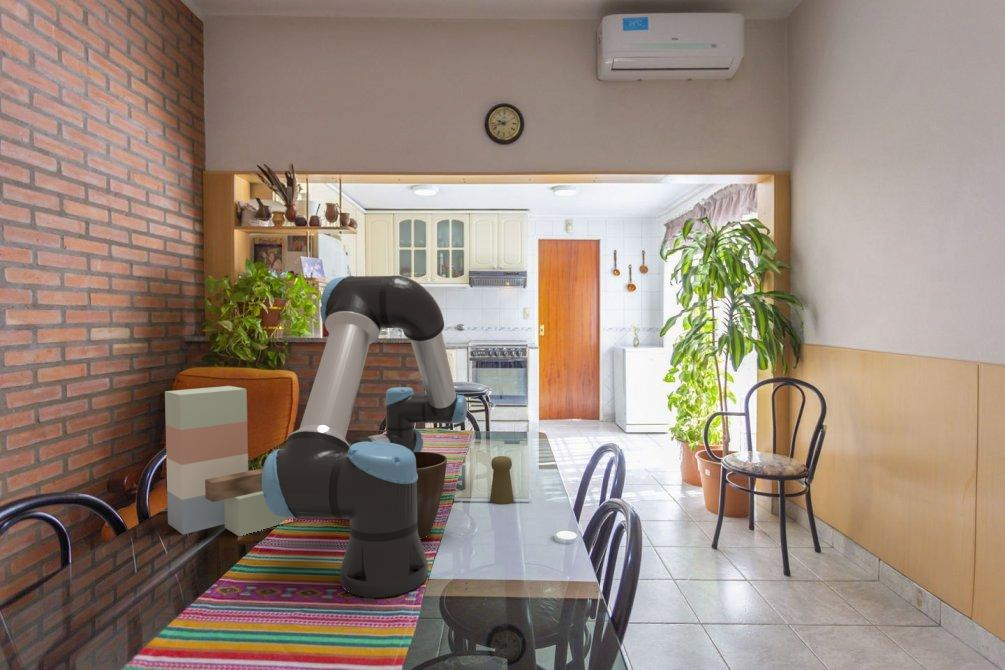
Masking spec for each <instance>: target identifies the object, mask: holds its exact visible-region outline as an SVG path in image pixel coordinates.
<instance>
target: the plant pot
mask: <svg viewBox="0 0 1005 670" xmlns="http://www.w3.org/2000/svg"><path fill="white" fill-rule="evenodd" d="M413 453H414V455H415V458H416V470H417V474H418V480H417V530H418V534H419V537H420V538H424V537H426V536H428V535H429V536H430V535H431V533H432V531H433V527H434V525H435V522H436V518H437V514H438V511H439V508H440V504H441V499H442V495H443V491H444V484H445V480H446V479H445V478H446V472H447V465H448V457H447V456H446V455H444V454H441V453H437V452H432V451H431V452H430V451H421V452H413ZM429 536H428V537H429ZM426 538H427V537H426ZM424 539H425V538H424Z"/></svg>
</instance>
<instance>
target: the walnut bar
mask: <svg viewBox="0 0 1005 670" xmlns="http://www.w3.org/2000/svg"><path fill="white" fill-rule="evenodd" d="M262 472H263V467H262V468H258V469H253V470H252V469H251V470H250V471H247V472H241V473H236V474H231V475H226V476H221V477H216V478H211V479H206V480H205V498H206V499H208V500H209V501H211V502H216V501H220V500H225V499H229V498H234V497H238V496H243V495H247V494H252V493H256V492H260V491H262Z"/></svg>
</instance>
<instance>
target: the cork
mask: <svg viewBox="0 0 1005 670" xmlns="http://www.w3.org/2000/svg"><path fill="white" fill-rule="evenodd" d="M490 465H491V466H490V467H491V468H492V470H493V473H492V479H491V480H492V481H491V488H490V496H489V501H490V503H492V504H495V505H507V504H511V503H513V502H514V501H515V499H514V493H513V485H512V477H511V476H512V475H511V469H512V465H513V462H512V459H511V457H509V456H507V455H506V456H505V455H498V456H495V457H493V458H492V460H491V462H490Z"/></svg>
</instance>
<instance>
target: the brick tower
mask: <svg viewBox="0 0 1005 670" xmlns="http://www.w3.org/2000/svg"><path fill="white" fill-rule="evenodd" d="M247 392H248V391H247V388H243V387H239V386H238V387H237V386H234V385H233V386H232V385H225V386H213V387H200V388H187V389H177V390H168V391H167V390H166V391H164V402H165V406H164V408H165V449H166V451H165V452H166V453H165V455H166V491H167V492H166V493H167V495H166V496H167V498H166V499H167V524H168V525H169V526H170V527H172V528H173V529H175V530H176V531H177V532H179V533H180V534H182V535H187V534H190V533H195V532H198V531H203V530H206V529H210V528H215V527H218V526H222V525H225V511H224V500H220V501H216V502H211V501H209V500H208V499H206V498H205V480H206V479H211V478H216V477H221V476H226V475H231V474H236V473H241V472H247V471H248V468H249V449H248V447H249V445H248V436H249V435H248V397H247V396H248V393H247Z"/></svg>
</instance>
